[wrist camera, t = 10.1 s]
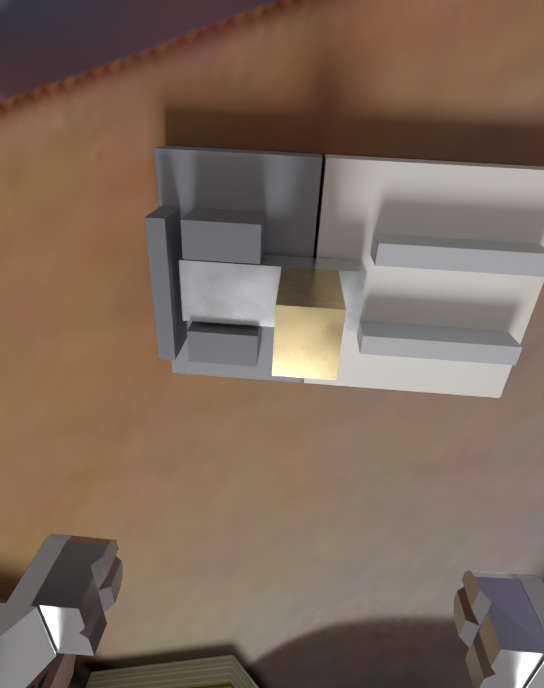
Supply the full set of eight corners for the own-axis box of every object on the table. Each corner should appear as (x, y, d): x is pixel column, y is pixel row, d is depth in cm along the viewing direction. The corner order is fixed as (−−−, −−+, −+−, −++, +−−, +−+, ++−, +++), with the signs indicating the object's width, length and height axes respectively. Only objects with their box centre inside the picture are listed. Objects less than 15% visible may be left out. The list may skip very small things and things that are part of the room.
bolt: (362, 260, 24) (381, 312, 18) (353, 317, 26) (368, 382, 20) (187, 249, 24) (148, 295, 18) (190, 306, 26) (155, 366, 20)
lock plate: (564, 167, 23) (624, 181, 19) (488, 381, 30) (519, 427, 26) (165, 145, 24) (134, 153, 20) (180, 357, 31) (159, 398, 26)
